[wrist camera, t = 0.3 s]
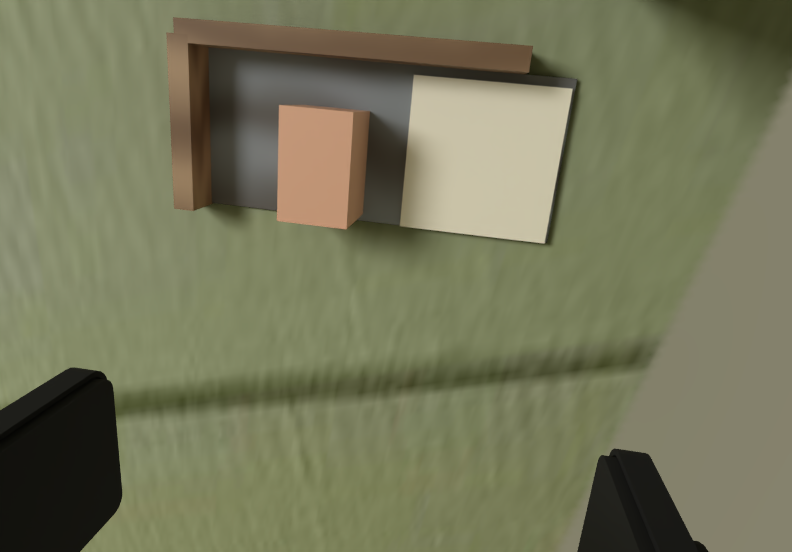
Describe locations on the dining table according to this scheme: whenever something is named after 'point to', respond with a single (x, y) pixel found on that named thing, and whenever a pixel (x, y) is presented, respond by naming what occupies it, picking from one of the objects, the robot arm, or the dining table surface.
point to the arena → (307, 102)
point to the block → (321, 165)
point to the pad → (483, 157)
